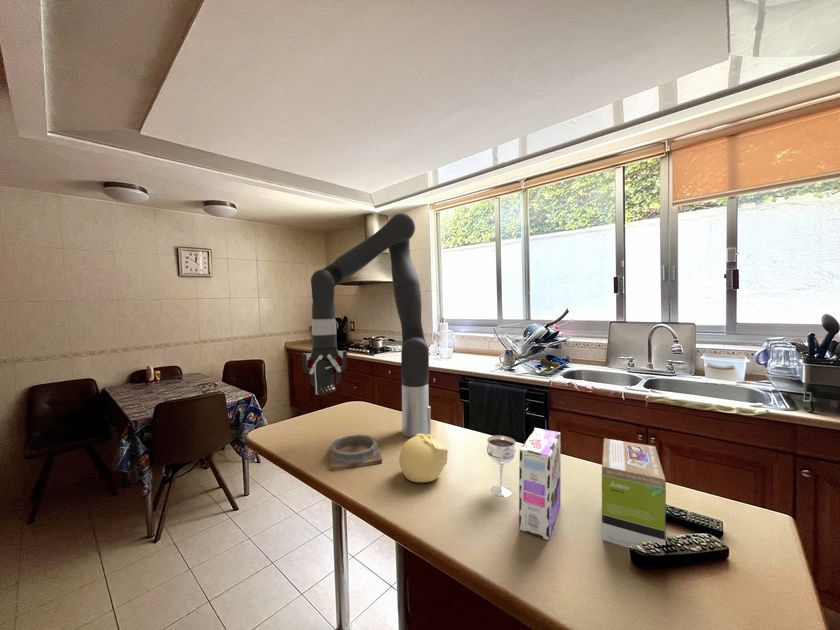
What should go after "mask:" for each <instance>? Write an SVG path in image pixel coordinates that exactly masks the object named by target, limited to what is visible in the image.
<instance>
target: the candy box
mask: <svg viewBox="0 0 840 630" xmlns="http://www.w3.org/2000/svg"><path fill="white" fill-rule="evenodd" d="M533 429H534V430H533V431H532V432H531V434H530V435H529V436H528V438H527V439H526V441H525V442H524V443H523V445H522V446H521V448H520V449H519V468H518V469H519V475H518V476H519V479H518V480H519V482H518V483H519V485H518V486H519V487H518V488H519V489H518V490H519V493H518V494H519V497H518V498H519V500H518V501H519V502H518V503H519V504H518V508H519V509H518V517H519V518H518V523H519V524H518V530H519V531H522V532H524V533H527V534H530V535H532V536H536V537H538V538H541V539H544V540H546V541H549V540H550V538H551V536H552V531H553V528H554V526H555V522H556V519H557V515H558V512H559V510H560V505H561V464H562V463H561V462H562V461H561V432H559V431H556V430H555V431H554V430H548V429H544V428H538V427H534V428H533Z"/></svg>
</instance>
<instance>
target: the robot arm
mask: <svg viewBox="0 0 840 630" xmlns="http://www.w3.org/2000/svg"><path fill="white" fill-rule="evenodd" d="M415 232H416V223H415V220H414V219H413V217H412V216H410V215H409V214H406V213H402V212H401V213H396V214H395V215H393V216H391V217H390V218H389V220H388V222H386V223H385V224H384V225H383V226H382V227H381V228H380V229H378V230H377V231H375V233H373V234H372V235H371V236H369V237H368V238H367V239H365V240H363V241H362V242H360V243H358V244H357V245H355V246H354V247H352V248H350V249H349V250H348V251H345V252H344V253H343V254H342V255H340V256H339V257H337V258H336V259H334V261H332V263H331V264H329V265H327V266H326V267H324V268H323V269H318V270H317V271H315V272H314V273H313V274H312V275H311V278H310V287H311V297H312V306H311V318H312V319H311V344H312V351H311V352H310V353H309V352H307V353H305V352H304V353H302V355H301V357H302V358H301V359H302V370H303V371H302V372H303V373H304V374H308V375H309V383H310V385H311V386H312V387H315V380H314V371H315V368H316V363H317V361H319V360H321V359H328V360H329V361H330V363H331V364H333V366H334V367H335V368H336V370H337V372H336V384H337V385H340V383H341V382H342V372H343V371H344V370H347V368H348V352H347V351H346V350H341V351H339V350H338V345H337V344H338V342H337V331H338V330H337V323H336V308H335V307H336V306H335V287H337V285H339V284H340V283H341V282H343V281H344V280H345V279H347V278H349V277H352V276H353V275H354V274H356V273H357V272H359V271H360V270H362V269H363V268H365V266H367V265H368V264H369V263H371V262H372V261H373V260H375V258H377V257H379V255H381V254H382V253H383V252H385V251H386V250H388V251H389V257H390V263H391V278H392V288H393V297H394V301H395V302H394V303H395V307H396V311H397V314H398V318H399V321H400V326H401V327H400V328H401V341H402V342H401V351H400V352H401V354H400V355H401V356H400V361H401V363H400V364H401V365H400V366H401V368H400V369H401V409H402V410H401V412H402V413H401V414H402V416H401V423H402V425H401V428H402V435H403V436H405V437H407V438H410V439H411V438H413V437H415V435H416V434H431V435H432V433H431V431H432V428H431V425H432V424H431V409H432V407H431V406H430V405H429V396H430V394H429V377H430V372H429V371H430V353H429V352H430V351H429V347H428V345H427V342H426V338H425V334H424V329H423V323H422V292H421V285H420V281H419V279H420V278H419V276H418V274H417V271H416V268H415V265H414V264H413V261H412V255H411V245H410V241H411V238H412V237H413V236H414V233H415ZM338 356H340V358H342V365H339V363H338V362H337V361H336V362H335V360H336V359H337V358H338ZM310 357H311V358H312V359H313V360H314V362H315V361H316V362H315V363H314V362H313V365H312V366H311V367H310V368H309V367H308V361H309V360H310Z"/></svg>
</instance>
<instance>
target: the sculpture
mask: <svg viewBox="0 0 840 630" xmlns="http://www.w3.org/2000/svg"><path fill="white" fill-rule="evenodd" d="M448 453H449V451H448V448H447V447H446V445H444V443H442V442H441V441H440V440H439V439H438V438H437V437H435V436H434V435H433V434H432V433H431V434H416V435H415V437H413V438H411V437H410V438H409V439H407V441H405V443H403V445H402V447H401V449H400V453H399V458H398V459H399V466H400V469H401V472H402V474H403V476H405V478H406V479H407V480H409V481H411V482H415V483H429V482H433V481H435V480H437V478H438V477H440V475H441V473H442V471H443V469H444V467H445V466H446V465H447V463H448V462H447V461H448Z"/></svg>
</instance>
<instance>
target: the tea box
mask: <svg viewBox="0 0 840 630" xmlns="http://www.w3.org/2000/svg"><path fill="white" fill-rule="evenodd" d="M602 446H603V447H602V464H601V536H602V537H601V538H602V541H604V542H607V541H608V542H607V543H610V542H611V544H613V543H614V544H613V545H616V544H618V545H617V546H619V545H620V547H623V546H624V547H623V548H626V547H628V548H627V549H629V548H630V546H631V545H632V544H635V543H640V542H647V541H652V542H654V543H657V544H661V545H666V544H667V543H666V542H667V541H666V540H667V539H666V530H667V528H666V527H667V525H666V524H667V519H666V517H667V516H666V513H667V512H666V508H667V507H666V505H667V501H666V499H667V486H666V477H665V473H664V471H663V467H662V463H661V460H660V457H659V454H658V451H657V447H656V446H654V445H650V444H643V443H635V442H629V441H622V440H618V439H610V438H606V437H604V438H603V445H602ZM666 546H667V545H666Z"/></svg>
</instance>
